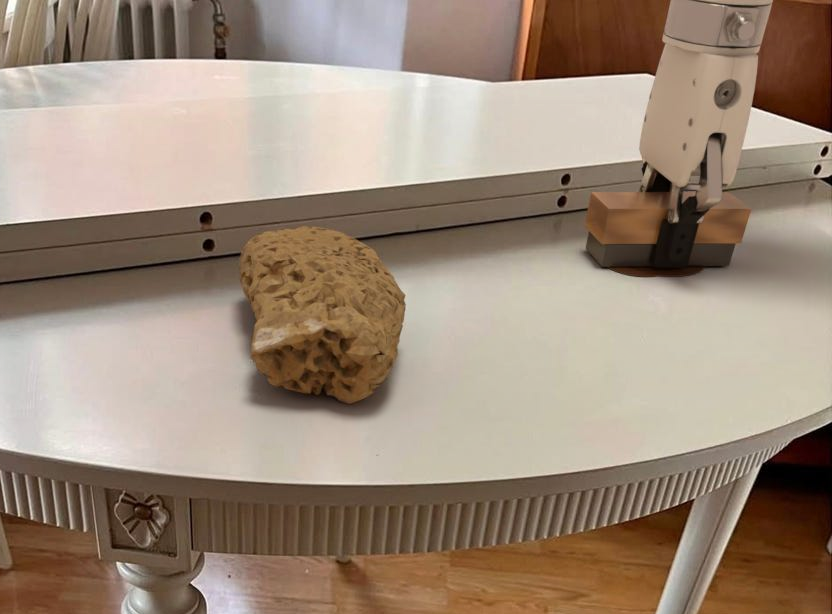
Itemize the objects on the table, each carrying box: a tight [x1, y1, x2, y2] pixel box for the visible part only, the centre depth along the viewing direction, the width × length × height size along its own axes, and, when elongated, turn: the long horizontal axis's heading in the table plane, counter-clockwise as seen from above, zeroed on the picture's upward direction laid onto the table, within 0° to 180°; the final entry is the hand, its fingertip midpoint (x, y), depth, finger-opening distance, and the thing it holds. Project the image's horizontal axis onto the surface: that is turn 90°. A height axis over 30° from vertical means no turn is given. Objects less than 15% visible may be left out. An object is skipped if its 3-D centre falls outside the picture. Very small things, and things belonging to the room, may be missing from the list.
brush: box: [584, 191, 752, 268], centre depth 88 cm, size 13×4×5 cm, turn 99°
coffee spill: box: [606, 266, 706, 278], centre depth 90 cm, size 11×9×1 cm
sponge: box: [238, 225, 407, 405], centre depth 71 cm, size 13×8×20 cm
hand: (658, 253), depth 90 cm, fingers closed on brush, 4 cm apart
